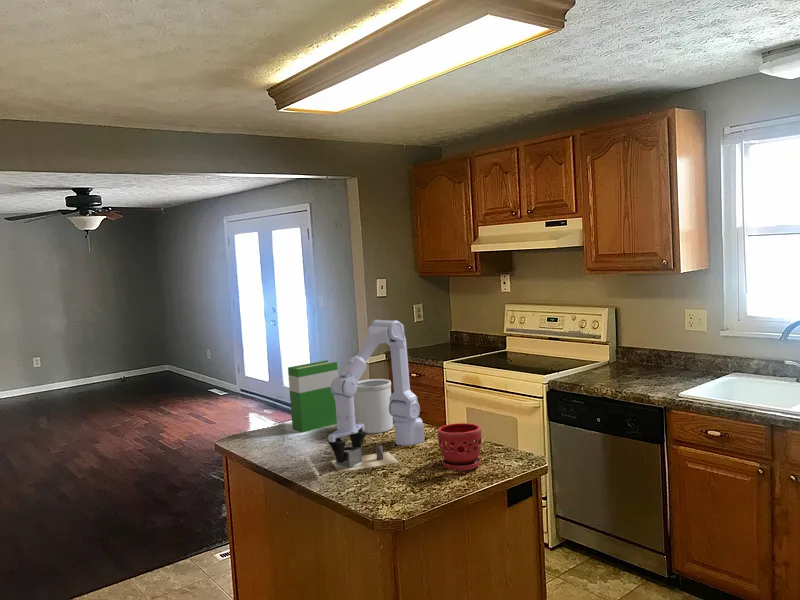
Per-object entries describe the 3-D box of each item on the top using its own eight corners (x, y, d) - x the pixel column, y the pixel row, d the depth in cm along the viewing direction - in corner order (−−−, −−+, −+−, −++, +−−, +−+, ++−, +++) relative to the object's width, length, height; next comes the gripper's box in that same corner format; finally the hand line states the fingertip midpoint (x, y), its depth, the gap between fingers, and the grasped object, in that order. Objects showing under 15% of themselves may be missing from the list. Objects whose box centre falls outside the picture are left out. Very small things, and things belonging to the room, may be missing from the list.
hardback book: (330, 419, 266) (326, 360, 265) (341, 422, 261) (337, 362, 259) (292, 429, 255) (287, 367, 254) (302, 432, 250) (297, 369, 248)
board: (388, 454, 216) (387, 438, 216) (399, 465, 205) (398, 448, 204) (331, 463, 210) (329, 446, 210) (339, 475, 199) (337, 457, 199)
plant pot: (491, 464, 201) (489, 425, 200) (463, 476, 191) (461, 435, 191) (459, 456, 210) (456, 419, 209) (430, 467, 201) (428, 429, 200)
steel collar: (348, 459, 210) (347, 445, 210) (361, 461, 206) (360, 447, 206) (336, 464, 205) (335, 450, 205) (349, 467, 202) (348, 452, 202)
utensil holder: (346, 430, 249) (343, 384, 248) (376, 421, 259) (373, 377, 258) (372, 436, 238) (368, 388, 237) (402, 427, 248) (399, 381, 247)
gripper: (339, 422, 197) (342, 467, 198) (370, 411, 208) (373, 453, 209) (322, 420, 201) (325, 464, 202) (353, 409, 212) (356, 450, 213)
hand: (348, 458), depth 206 cm, fingers open, 7 cm apart
